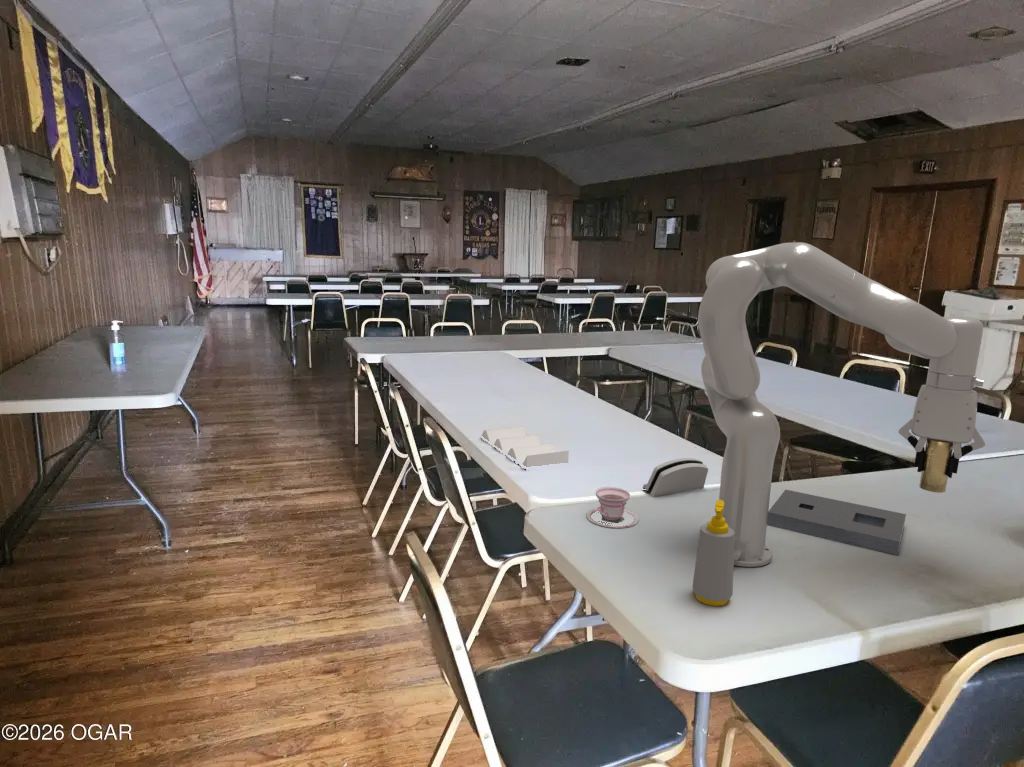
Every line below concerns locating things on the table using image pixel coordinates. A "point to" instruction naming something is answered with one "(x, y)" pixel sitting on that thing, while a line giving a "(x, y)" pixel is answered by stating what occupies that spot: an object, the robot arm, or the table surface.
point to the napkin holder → (677, 477)
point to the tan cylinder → (936, 465)
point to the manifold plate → (838, 521)
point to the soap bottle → (715, 560)
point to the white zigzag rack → (525, 446)
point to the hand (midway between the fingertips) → (934, 472)
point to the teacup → (612, 506)
